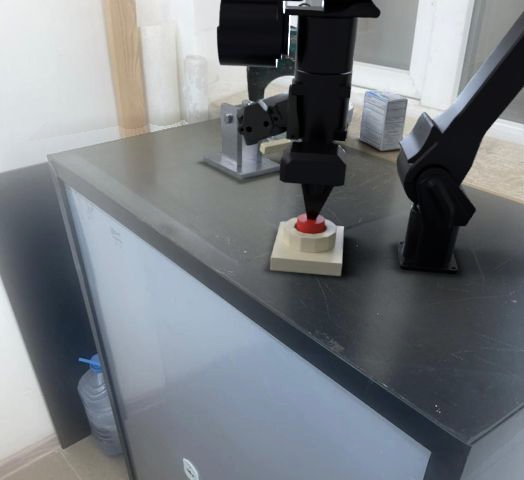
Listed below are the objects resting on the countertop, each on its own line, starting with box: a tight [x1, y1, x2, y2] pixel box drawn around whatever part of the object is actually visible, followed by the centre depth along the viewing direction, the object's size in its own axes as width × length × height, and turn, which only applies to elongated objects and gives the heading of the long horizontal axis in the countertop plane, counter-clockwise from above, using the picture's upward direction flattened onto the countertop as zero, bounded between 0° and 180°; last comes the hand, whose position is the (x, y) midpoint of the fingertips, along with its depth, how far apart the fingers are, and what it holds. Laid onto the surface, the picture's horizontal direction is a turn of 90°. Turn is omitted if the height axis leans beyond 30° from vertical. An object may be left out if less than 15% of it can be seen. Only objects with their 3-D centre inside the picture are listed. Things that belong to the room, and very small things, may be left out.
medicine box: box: [358, 89, 409, 152], centre depth 100 cm, size 8×4×9 cm, turn 22°
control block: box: [269, 216, 345, 277], centre depth 65 cm, size 10×8×4 cm
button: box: [297, 212, 326, 234], centre depth 64 cm, size 3×3×2 cm
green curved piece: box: [245, 2, 311, 102], centre depth 118 cm, size 20×6×20 cm, turn 94°
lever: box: [233, 103, 292, 155], centre depth 84 cm, size 11×5×2 cm, turn 36°
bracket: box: [202, 99, 280, 180], centre depth 88 cm, size 11×8×10 cm
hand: (311, 218), depth 63 cm, fingers closed, pressing on button
